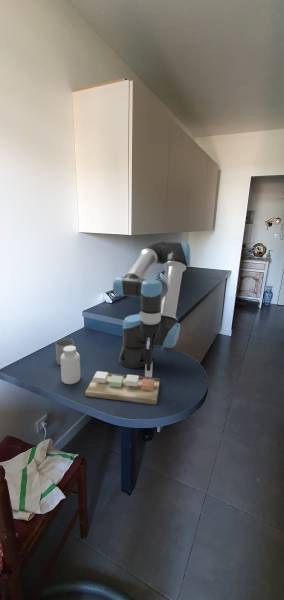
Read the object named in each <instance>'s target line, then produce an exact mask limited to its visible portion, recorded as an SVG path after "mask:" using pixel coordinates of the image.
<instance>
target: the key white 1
mask: <svg viewBox="0 0 284 600" xmlns="http://www.w3.org/2000/svg"><path fill="white" fill-rule="evenodd" d="M95 373H96V374H94V376H93V377H92V379H93V381H94V382H101V383H105V382H106V380H107V378H108V373H109V372H108V371H98V370H97V371H95Z"/></svg>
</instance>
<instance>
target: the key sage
mask: <svg viewBox="0 0 284 600" xmlns="http://www.w3.org/2000/svg"><path fill="white" fill-rule="evenodd" d="M122 383H123V376H115V375H112V376H111V379H110V381H109V386H115V387H121V385H122Z"/></svg>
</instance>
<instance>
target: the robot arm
mask: <svg viewBox="0 0 284 600" xmlns="http://www.w3.org/2000/svg"><path fill="white" fill-rule="evenodd" d="M156 264H157V265H160V264H161V265H163V268H164V269H165V271H164V275H163V276H164V278H156V279H147V278H146V279H145V277H146V276H147V275H148V273H149V271H150V270H151V268H152V267H153V266H155V265H156ZM190 265H191V247H190V244H189V243H187V242H182V241H180V242H176V241H164V240H163V241H159V240H158V241H155V242H152V243H150V244H149V245H147V246H145V247H144V248H142V250H141V251H140V253H139V255H138V258H137V259H136V261H135V262H134V263H133V265H132V266H131V268H130V269H129V270H128V271H127V272H126V274H125V275H124V276H116V277H114V280H113V281H112V290H113V293H114V294H115V295H117V296H122V297H123V296H124V297H135V298H140V311H139V312H138V313H137V314H131V315H128V316H126V317H125V318H124V319H123V323H122V324H123V325H122V347H121V351H120V354H119V356H118V362H119V364H121V366H123V367H125V368H131V369H138V368H139V369H140V368H144V377H150V378H153V363H154V362H153V361H155V357H154V349H155V346H156V347H161V348H169V349H170V348H171V349H172V348H173V347H176V344H177V342H178V339H179V335H180V331H181V324H180V322H178V321H179V320H178V318H177V315H176V314H177V309H178V301H179V296H180V291H181V290H180V289H181V283H182V278H183V272H185V271H186V269H187V267H189V266H190Z"/></svg>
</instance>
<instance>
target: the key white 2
mask: <svg viewBox="0 0 284 600" xmlns="http://www.w3.org/2000/svg"><path fill="white" fill-rule="evenodd" d="M126 375H127V377H126V380H125V385H128V386H137V384H138V381H139V376H140V375H137V374H126Z"/></svg>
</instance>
